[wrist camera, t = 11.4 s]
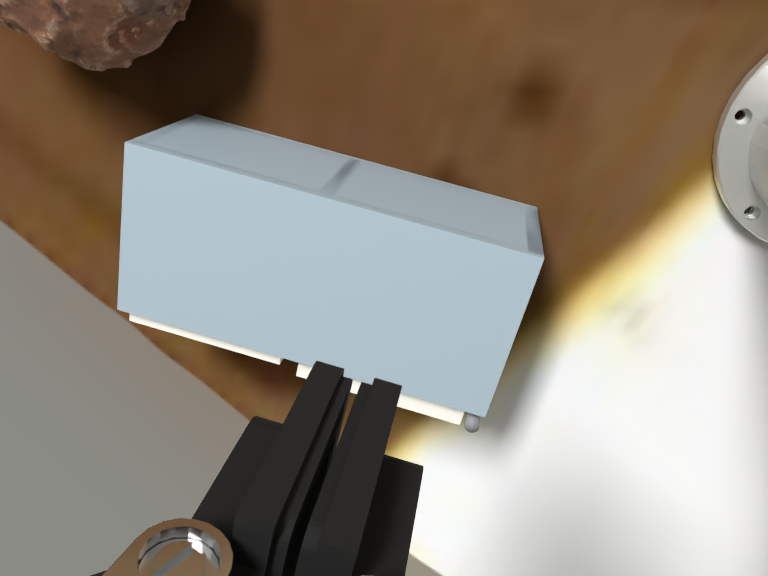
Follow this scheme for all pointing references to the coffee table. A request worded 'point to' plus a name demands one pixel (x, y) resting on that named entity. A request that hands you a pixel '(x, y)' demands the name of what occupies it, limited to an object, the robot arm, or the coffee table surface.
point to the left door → (416, 405)
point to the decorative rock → (95, 27)
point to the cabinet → (324, 259)
